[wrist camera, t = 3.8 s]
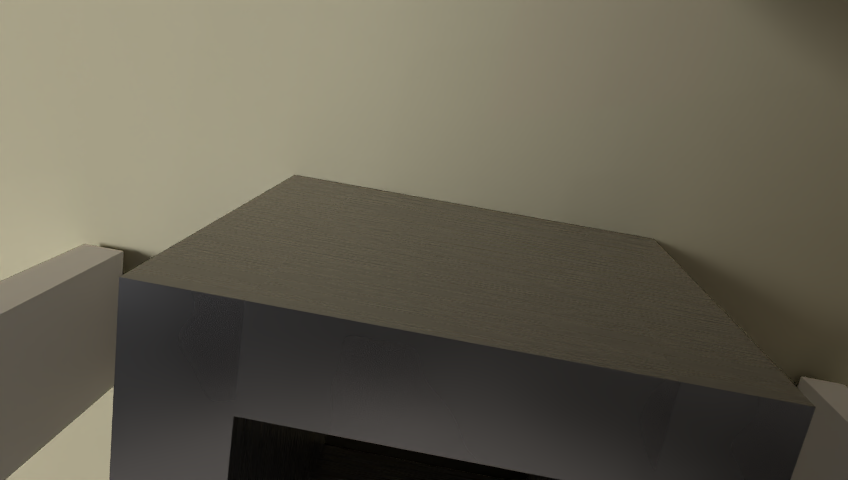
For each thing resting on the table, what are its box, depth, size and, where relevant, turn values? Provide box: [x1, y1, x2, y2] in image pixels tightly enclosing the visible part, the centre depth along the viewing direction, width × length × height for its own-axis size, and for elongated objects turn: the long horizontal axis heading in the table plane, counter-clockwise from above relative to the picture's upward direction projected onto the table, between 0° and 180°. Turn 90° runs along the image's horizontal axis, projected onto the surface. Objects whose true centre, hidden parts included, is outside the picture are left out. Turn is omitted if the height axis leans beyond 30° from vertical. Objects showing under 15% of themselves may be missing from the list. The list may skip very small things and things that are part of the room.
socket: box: [110, 175, 816, 480], centre depth 10 cm, size 6×6×6 cm
